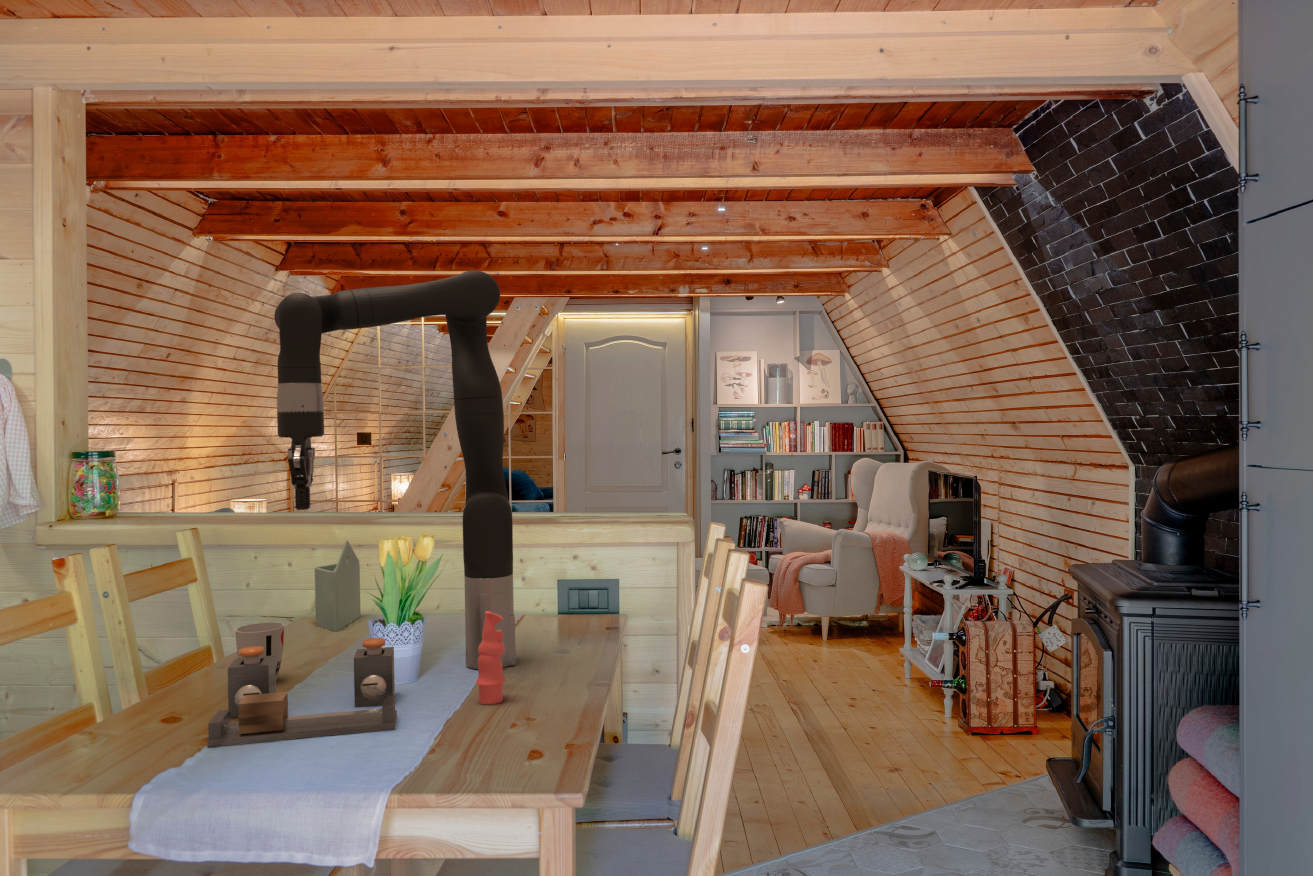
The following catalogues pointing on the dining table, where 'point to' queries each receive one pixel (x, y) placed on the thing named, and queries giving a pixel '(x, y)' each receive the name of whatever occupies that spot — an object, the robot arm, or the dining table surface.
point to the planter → (338, 591)
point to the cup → (262, 639)
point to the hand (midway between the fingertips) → (303, 509)
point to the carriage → (263, 712)
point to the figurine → (491, 661)
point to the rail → (305, 725)
